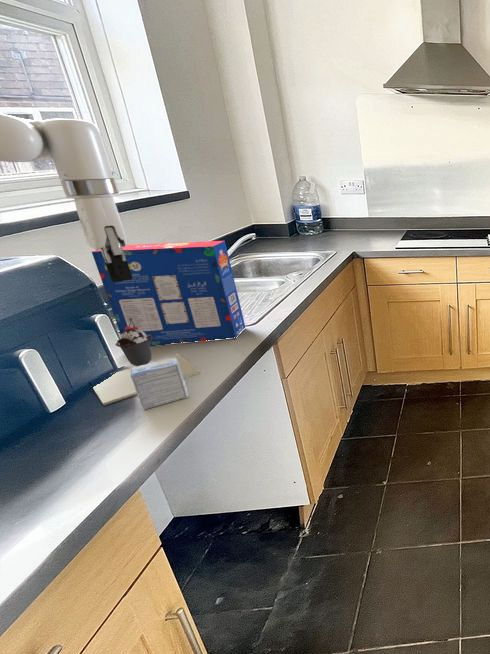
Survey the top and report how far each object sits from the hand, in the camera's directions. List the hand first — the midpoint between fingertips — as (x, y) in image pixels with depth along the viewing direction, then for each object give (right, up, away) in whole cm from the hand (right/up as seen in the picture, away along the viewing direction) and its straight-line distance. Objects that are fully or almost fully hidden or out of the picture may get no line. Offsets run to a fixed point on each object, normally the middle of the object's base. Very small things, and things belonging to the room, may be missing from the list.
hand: (122, 280), depth 86 cm
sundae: (-7, -23, +14) cm, 28 cm away
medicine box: (+4, -27, +6) cm, 28 cm away
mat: (-9, -23, +15) cm, 29 cm away
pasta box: (-15, -15, +38) cm, 43 cm away
